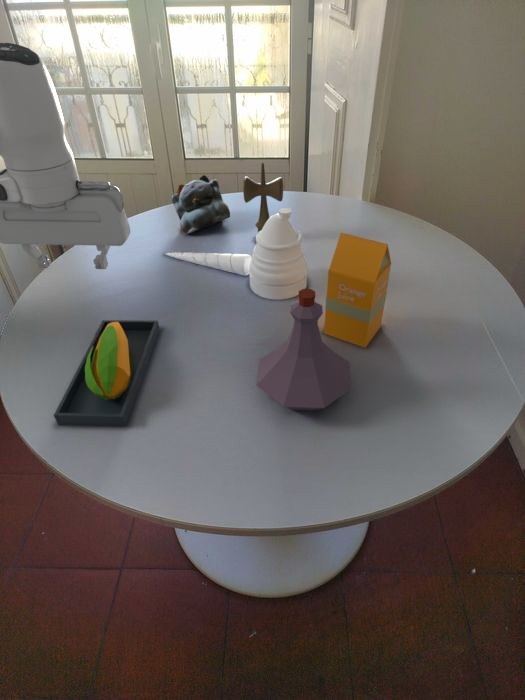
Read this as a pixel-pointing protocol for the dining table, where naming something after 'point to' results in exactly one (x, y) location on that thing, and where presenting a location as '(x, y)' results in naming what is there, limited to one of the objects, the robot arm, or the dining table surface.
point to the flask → (304, 363)
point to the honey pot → (278, 259)
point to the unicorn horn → (218, 261)
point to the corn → (110, 364)
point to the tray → (96, 411)
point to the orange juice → (356, 289)
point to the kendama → (262, 194)
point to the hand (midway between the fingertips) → (73, 266)
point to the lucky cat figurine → (199, 204)
